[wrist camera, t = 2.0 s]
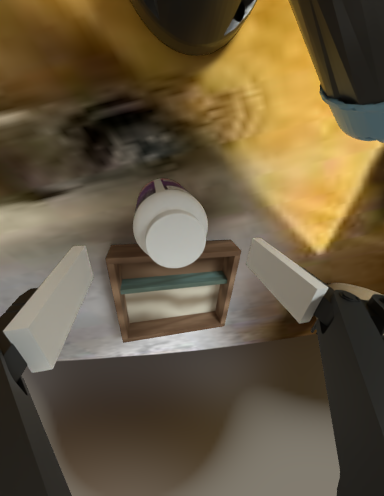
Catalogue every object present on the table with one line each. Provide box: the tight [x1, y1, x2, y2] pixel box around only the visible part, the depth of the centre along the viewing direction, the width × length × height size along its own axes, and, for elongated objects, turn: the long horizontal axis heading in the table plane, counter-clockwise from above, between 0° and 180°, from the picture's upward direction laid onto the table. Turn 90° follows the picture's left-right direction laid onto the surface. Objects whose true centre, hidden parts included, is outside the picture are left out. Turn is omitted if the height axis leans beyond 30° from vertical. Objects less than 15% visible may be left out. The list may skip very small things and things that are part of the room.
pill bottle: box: [133, 178, 208, 268], centre depth 21 cm, size 8×8×14 cm
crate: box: [106, 240, 241, 343], centre depth 34 cm, size 20×22×4 cm
